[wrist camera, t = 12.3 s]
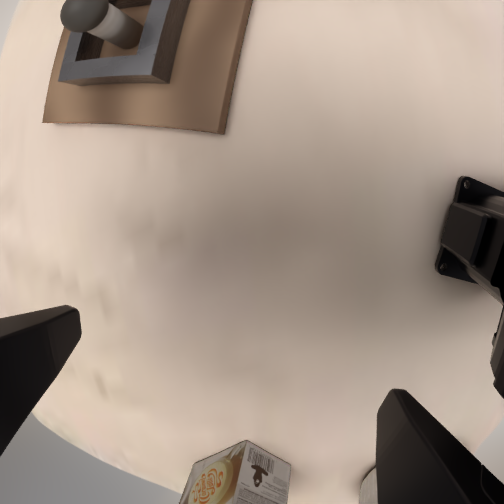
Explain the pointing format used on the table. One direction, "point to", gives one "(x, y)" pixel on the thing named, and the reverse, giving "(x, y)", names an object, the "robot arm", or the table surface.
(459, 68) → the table surface
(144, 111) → the square knob plate
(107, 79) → the metal link
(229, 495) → the coffee box
